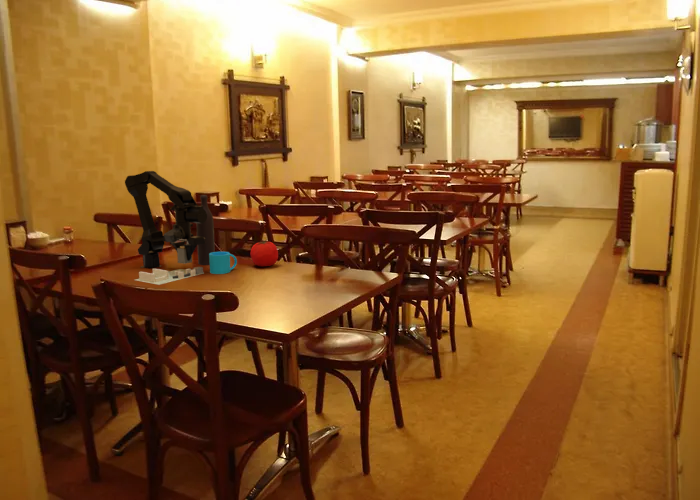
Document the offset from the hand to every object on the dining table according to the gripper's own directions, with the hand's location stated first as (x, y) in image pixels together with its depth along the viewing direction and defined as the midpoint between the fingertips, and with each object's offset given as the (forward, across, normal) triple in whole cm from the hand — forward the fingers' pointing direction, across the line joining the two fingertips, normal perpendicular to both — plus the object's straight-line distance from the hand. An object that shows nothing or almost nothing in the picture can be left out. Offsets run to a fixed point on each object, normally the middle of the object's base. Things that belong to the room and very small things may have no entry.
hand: (184, 259), depth 241 cm
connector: (+1, 0, 0) cm, 1 cm away
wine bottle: (+5, -4, +16) cm, 17 cm away
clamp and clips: (+5, +7, -5) cm, 10 cm away
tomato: (+5, +19, +26) cm, 33 cm away
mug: (+6, +13, +8) cm, 17 cm away
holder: (+5, +1, -16) cm, 17 cm away
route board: (+5, +2, -10) cm, 12 cm away
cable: (+5, +7, -7) cm, 11 cm away
